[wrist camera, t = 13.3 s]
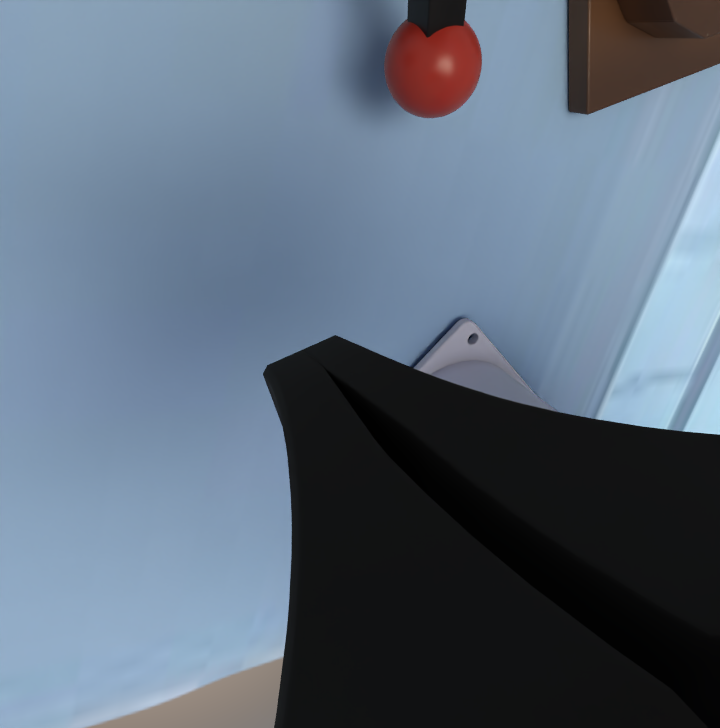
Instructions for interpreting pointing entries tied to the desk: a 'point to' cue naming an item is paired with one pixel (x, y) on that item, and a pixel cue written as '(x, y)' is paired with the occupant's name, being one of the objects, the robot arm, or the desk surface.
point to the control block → (636, 47)
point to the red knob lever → (433, 59)
